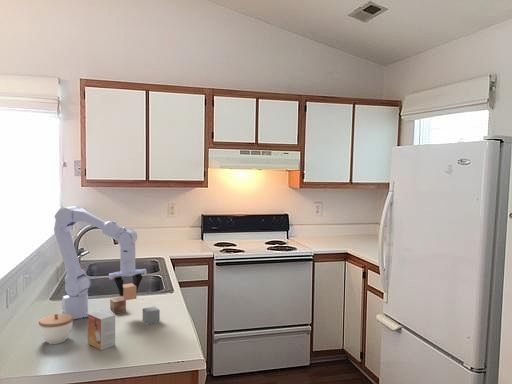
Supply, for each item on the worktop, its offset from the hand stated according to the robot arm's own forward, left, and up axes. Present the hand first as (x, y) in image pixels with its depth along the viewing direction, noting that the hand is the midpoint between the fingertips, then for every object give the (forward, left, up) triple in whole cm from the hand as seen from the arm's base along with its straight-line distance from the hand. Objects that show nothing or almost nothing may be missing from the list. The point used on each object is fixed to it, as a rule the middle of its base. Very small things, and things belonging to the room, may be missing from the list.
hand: (128, 294), depth 173 cm
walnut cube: (-1, +10, -10) cm, 14 cm away
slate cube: (+6, -9, -10) cm, 14 cm away
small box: (-16, -21, -10) cm, 28 cm away
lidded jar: (-28, -9, -10) cm, 31 cm away
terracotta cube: (0, 0, -1) cm, 1 cm away
